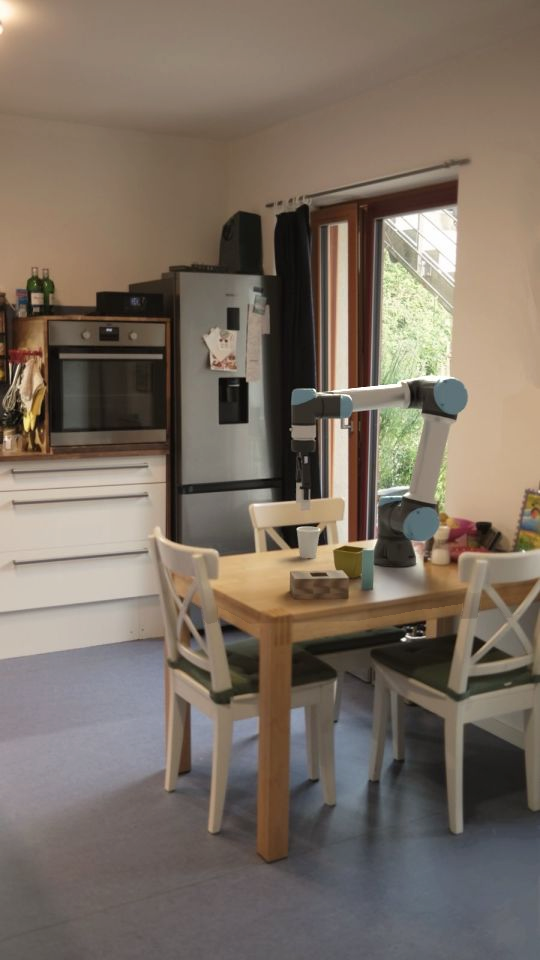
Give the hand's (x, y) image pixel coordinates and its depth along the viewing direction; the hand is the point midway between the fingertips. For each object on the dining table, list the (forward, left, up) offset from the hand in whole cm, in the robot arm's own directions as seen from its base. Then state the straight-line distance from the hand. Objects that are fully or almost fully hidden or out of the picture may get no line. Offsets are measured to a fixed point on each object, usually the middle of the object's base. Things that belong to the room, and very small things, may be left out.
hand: (302, 506), depth 305 cm
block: (-2, +19, -23) cm, 30 cm away
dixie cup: (-7, -33, -24) cm, 42 cm away
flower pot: (-16, -3, -24) cm, 29 cm away
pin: (-18, +13, -23) cm, 32 cm away
